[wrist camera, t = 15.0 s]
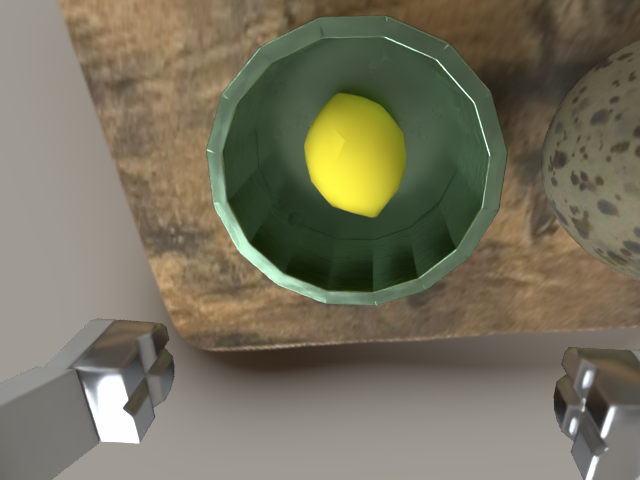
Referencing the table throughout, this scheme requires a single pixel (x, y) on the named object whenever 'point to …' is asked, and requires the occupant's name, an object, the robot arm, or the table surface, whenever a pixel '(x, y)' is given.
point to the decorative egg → (599, 161)
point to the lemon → (355, 154)
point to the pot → (304, 198)
